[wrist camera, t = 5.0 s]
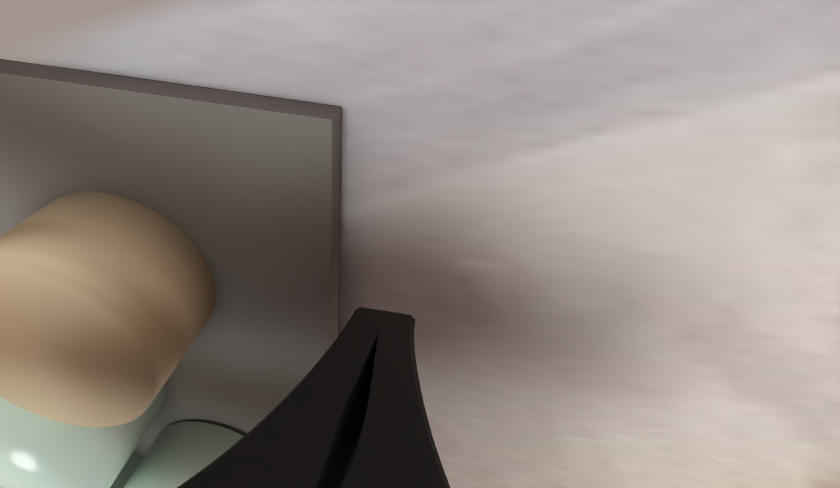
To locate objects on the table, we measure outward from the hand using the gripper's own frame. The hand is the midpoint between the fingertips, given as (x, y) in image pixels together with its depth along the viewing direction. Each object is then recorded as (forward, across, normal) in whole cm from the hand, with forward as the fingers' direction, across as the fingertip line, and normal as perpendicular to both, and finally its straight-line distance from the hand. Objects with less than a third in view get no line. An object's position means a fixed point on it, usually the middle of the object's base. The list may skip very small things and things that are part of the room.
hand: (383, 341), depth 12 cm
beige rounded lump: (+1, +7, 0) cm, 7 cm away
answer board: (+2, +11, +3) cm, 12 cm away
